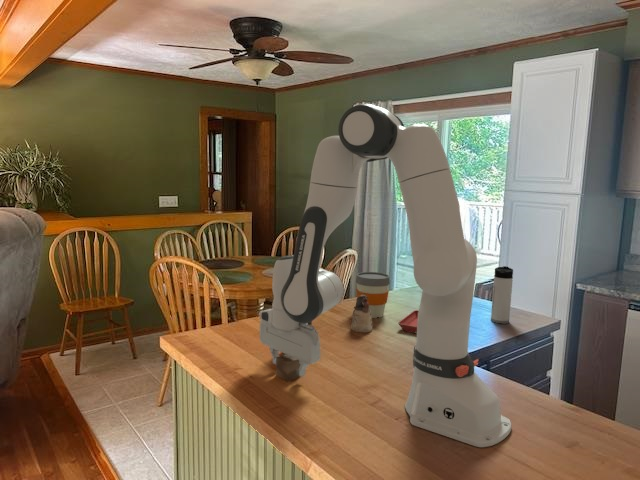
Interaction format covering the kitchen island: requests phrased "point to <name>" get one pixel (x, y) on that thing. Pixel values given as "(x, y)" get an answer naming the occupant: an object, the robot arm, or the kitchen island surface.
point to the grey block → (287, 367)
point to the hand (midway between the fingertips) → (288, 369)
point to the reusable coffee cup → (374, 290)
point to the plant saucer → (410, 322)
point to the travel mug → (502, 295)
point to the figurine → (362, 316)
